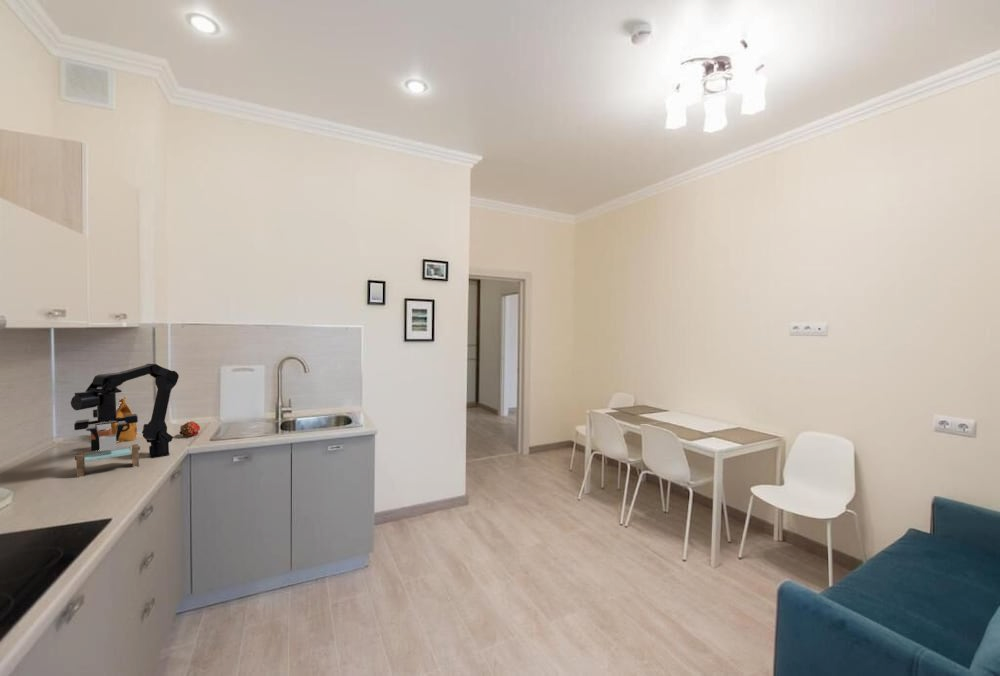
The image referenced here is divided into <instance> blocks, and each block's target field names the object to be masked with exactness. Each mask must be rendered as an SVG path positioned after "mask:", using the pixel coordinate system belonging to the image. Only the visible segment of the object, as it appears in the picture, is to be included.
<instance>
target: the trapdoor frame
mask: <svg viewBox="0 0 1000 676" xmlns="http://www.w3.org/2000/svg"><path fill="white" fill-rule="evenodd" d="M140 450H141V446H139V444H138V443H137V444H131V455H132V456H131V459H132V464H133V465H132V468H135V467H134V466H137V467H140V464H139V462H140V459H139V457H140V456H139V451H140ZM74 460H75V463H76V477H77V478H79V477H78V476H82V477H85V475H84V474H86V469H85V467H86V465H85V452H77V453H76V455H74Z"/></svg>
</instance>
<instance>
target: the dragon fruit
mask: <svg viewBox="0 0 1000 676" xmlns="http://www.w3.org/2000/svg"><path fill="white" fill-rule="evenodd" d="M200 430H201V426H200V425H199V424H198V423H197V422H195V421H192V420H191V421H188V422H186V423H184V424H182V425H181V426H180V429H179V432H178V433H179V434H180V435H182V436H185V438H191V437H192V436H197V435H199V431H200ZM190 436H191V437H190Z"/></svg>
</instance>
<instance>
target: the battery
mask: <svg viewBox="0 0 1000 676" xmlns="http://www.w3.org/2000/svg"><path fill="white" fill-rule="evenodd" d="M97 429H98V434H99V438H100V436H107V435H112V429H111V428H109V427H106V428H104V429H101V428H97ZM90 449H91V451H90V452H92V451H93V450H99V449H100V446H99V444H98V442H97V440H96V438H95V437H94V435H93V434H92V433H91V432H90Z"/></svg>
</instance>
